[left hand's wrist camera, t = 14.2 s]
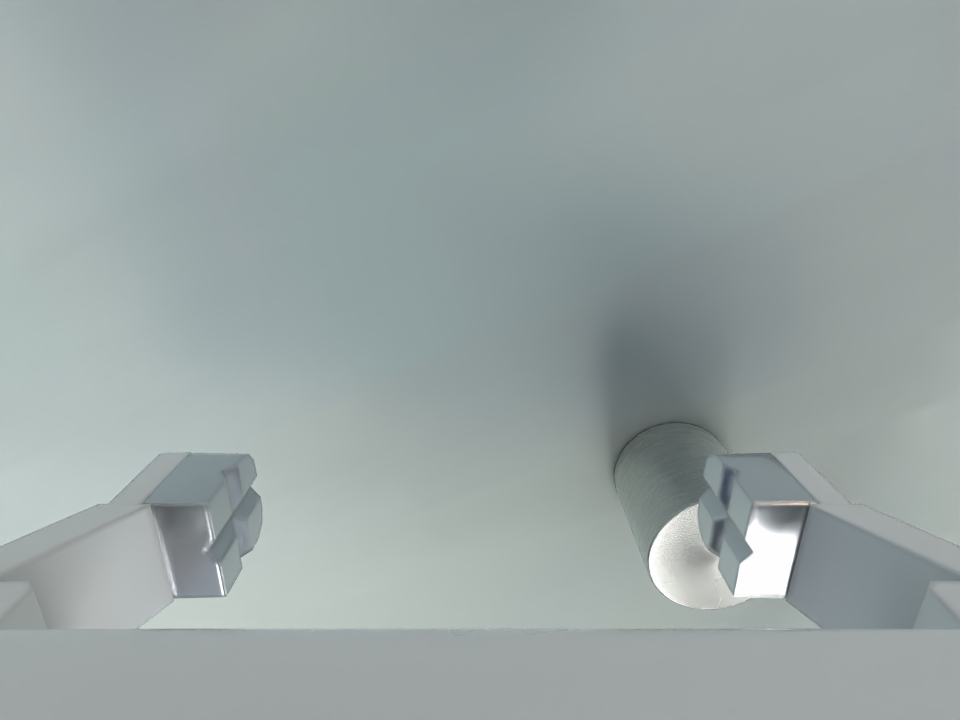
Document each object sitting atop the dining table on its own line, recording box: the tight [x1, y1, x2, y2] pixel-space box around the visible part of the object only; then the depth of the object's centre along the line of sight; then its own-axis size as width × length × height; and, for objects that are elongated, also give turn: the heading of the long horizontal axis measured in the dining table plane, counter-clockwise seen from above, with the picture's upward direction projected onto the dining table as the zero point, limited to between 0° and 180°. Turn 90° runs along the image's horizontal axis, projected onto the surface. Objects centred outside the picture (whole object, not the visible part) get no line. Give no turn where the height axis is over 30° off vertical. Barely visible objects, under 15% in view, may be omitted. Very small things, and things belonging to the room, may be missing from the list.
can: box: [614, 423, 753, 610], centre depth 19 cm, size 4×4×5 cm
